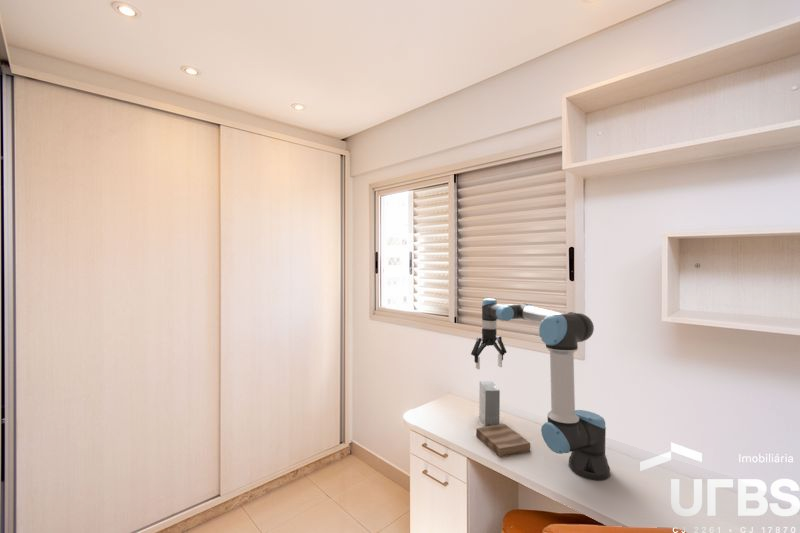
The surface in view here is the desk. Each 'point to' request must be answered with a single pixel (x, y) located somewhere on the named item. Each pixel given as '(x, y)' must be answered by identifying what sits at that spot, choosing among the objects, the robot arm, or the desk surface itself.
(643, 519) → the desk surface
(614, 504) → the desk surface
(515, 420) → the desk surface
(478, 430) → the walnut riser
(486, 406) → the hard drive box
